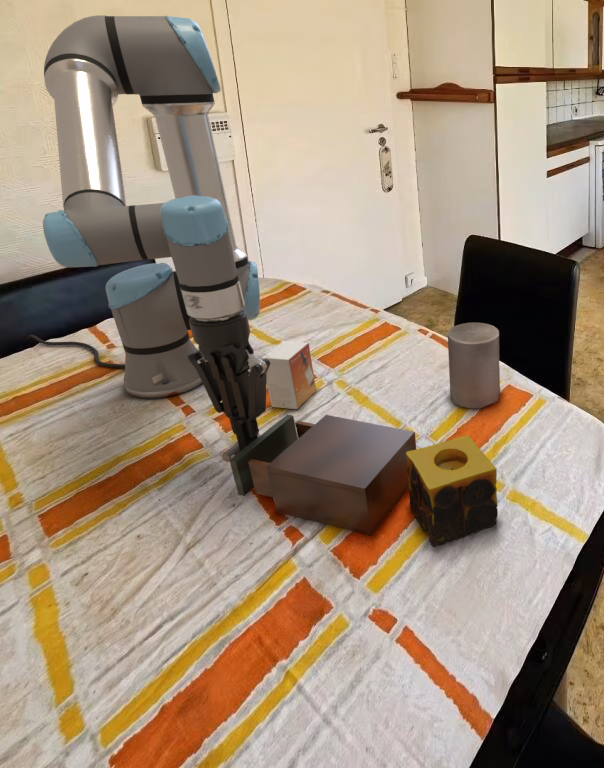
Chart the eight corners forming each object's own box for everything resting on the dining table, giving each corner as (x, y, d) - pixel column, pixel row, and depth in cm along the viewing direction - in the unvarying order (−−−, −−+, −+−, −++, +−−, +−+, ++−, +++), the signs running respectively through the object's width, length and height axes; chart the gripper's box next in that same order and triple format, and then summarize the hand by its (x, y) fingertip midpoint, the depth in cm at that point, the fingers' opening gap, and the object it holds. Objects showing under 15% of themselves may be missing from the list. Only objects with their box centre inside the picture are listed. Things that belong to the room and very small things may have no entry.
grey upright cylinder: (456, 383, 126) (452, 314, 119) (503, 386, 125) (503, 317, 118) (445, 407, 118) (441, 334, 111) (496, 411, 117) (495, 337, 110)
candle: (432, 550, 84) (427, 491, 80) (407, 507, 92) (402, 451, 88) (499, 526, 89) (499, 469, 84) (470, 487, 96) (468, 433, 92)
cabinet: (276, 512, 91) (266, 466, 87) (333, 457, 104) (326, 414, 100) (371, 536, 87) (364, 488, 83) (418, 475, 99) (415, 431, 95)
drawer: (211, 488, 95) (201, 453, 92) (269, 441, 106) (261, 409, 103) (321, 515, 89) (315, 479, 86) (370, 462, 101) (365, 429, 98)
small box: (297, 410, 117) (288, 360, 112) (270, 407, 118) (260, 357, 113) (317, 390, 124) (309, 342, 119) (291, 387, 125) (282, 339, 120)
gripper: (159, 316, 86) (200, 456, 97) (237, 328, 82) (270, 472, 94) (199, 298, 92) (233, 432, 104) (273, 308, 89) (300, 446, 100)
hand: (250, 451), depth 99 cm, fingers closed
